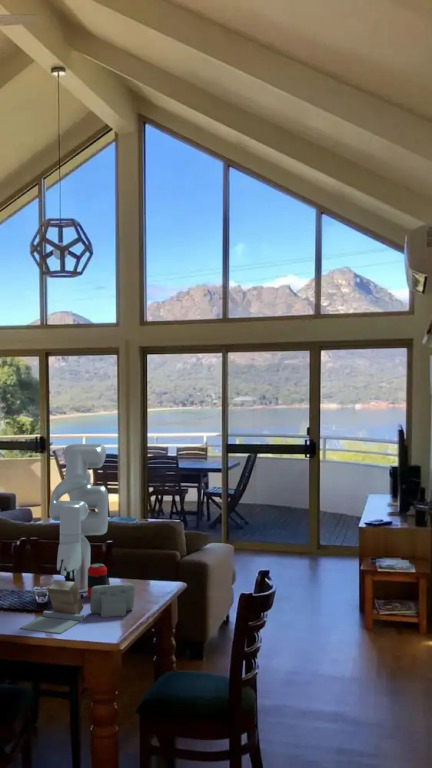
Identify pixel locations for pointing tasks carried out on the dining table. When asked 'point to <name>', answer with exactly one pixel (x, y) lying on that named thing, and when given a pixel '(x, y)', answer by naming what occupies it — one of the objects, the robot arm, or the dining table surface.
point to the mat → (49, 625)
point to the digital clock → (112, 599)
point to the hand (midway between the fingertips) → (69, 588)
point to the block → (65, 597)
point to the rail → (63, 615)
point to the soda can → (96, 576)
